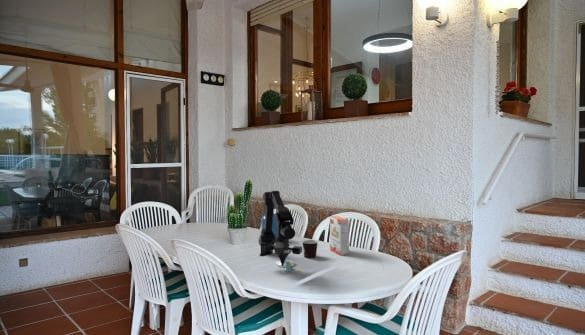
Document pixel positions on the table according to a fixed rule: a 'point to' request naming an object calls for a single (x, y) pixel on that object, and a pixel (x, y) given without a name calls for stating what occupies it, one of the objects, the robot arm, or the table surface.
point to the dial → (286, 264)
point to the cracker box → (339, 235)
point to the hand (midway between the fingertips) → (282, 265)
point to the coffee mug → (310, 248)
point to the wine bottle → (274, 226)
